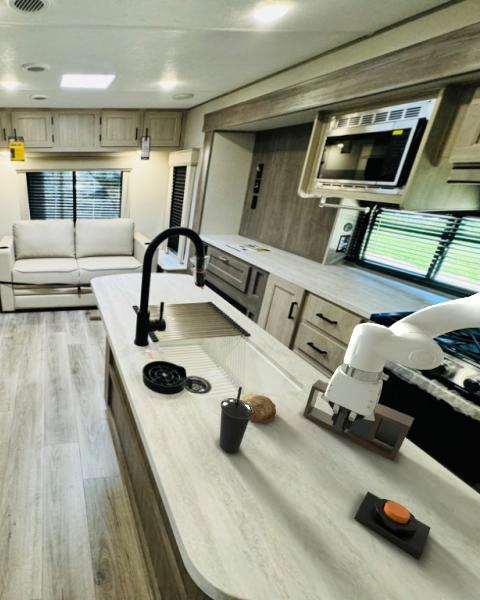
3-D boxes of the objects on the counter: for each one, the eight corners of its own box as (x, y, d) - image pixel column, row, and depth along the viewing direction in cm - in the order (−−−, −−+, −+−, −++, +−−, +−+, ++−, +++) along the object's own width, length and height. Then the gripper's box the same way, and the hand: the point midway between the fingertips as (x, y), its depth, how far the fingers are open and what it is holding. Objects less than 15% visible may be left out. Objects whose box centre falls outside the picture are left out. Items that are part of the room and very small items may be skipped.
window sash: (372, 440, 85) (382, 415, 82) (365, 452, 82) (375, 427, 79) (334, 421, 92) (342, 398, 89) (325, 432, 88) (333, 408, 85)
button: (409, 516, 65) (412, 511, 64) (405, 527, 63) (408, 521, 62) (386, 503, 67) (388, 497, 67) (381, 513, 65) (384, 507, 65)
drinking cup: (207, 440, 89) (217, 382, 81) (228, 433, 91) (240, 375, 84) (228, 461, 82) (241, 400, 75) (250, 452, 84) (264, 392, 77)
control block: (426, 534, 65) (434, 521, 63) (418, 560, 60) (426, 547, 59) (364, 497, 72) (370, 485, 71) (353, 518, 68) (359, 506, 66)
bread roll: (236, 410, 105) (230, 393, 102) (265, 398, 104) (260, 381, 101) (253, 433, 96) (247, 415, 93) (286, 420, 94) (280, 401, 92)
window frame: (398, 451, 84) (414, 417, 80) (393, 461, 81) (410, 426, 77) (309, 409, 100) (318, 379, 95) (302, 415, 97) (312, 385, 93)
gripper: (405, 379, 76) (380, 437, 83) (329, 353, 88) (312, 405, 95) (398, 391, 72) (372, 451, 79) (319, 362, 84) (302, 416, 91)
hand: (340, 425), depth 87 cm, fingers closed
